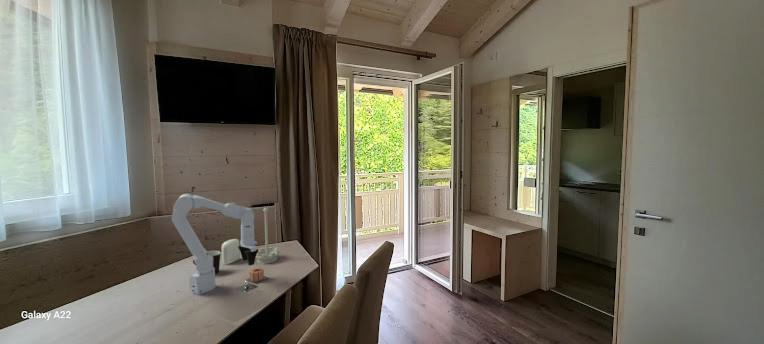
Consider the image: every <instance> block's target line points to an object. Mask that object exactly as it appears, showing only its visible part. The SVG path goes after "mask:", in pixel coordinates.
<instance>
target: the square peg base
mask: <svg viewBox="0 0 764 344" xmlns="http://www.w3.org/2000/svg"><path fill="white" fill-rule="evenodd" d="M268 279H269V277H268V276H265V275H264V279H262V280H260V281H251V280H250V277H249V278H247V279H246V280H248V281H249V283H250V284H253V285H257V284H260V283H262V282H265V281H266V280H268Z"/></svg>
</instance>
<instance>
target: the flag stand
mask: <svg viewBox="0 0 764 344" xmlns="http://www.w3.org/2000/svg"><path fill="white" fill-rule="evenodd" d="M269 210H270V209H269V208H268V207H264V208H263V209H262V211H263V212H264V239H265V240H264V241H265V242H264V243H265V248H264V247H261V248H258V250H259V251H258V253H257V255H256V258H255V259H256V262H257V263H258V264H262V263H264V264H270V263H271V262H272V263H275V262H276V261H277V260H278V259H279V257H278V256H279V255H280V249H279V247H274V248H273V246H269V225H268V224H269V223H268V221H269V219H268V213H269ZM274 261H275V262H274ZM272 263H271V264H272Z"/></svg>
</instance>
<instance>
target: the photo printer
mask: <svg viewBox="0 0 764 344" xmlns="http://www.w3.org/2000/svg"><path fill="white" fill-rule="evenodd" d="M238 246H241V244H240V240H239V239H237V238H232V239H228V240H226V241H224V242H223V243H222V244H221V248H220V249H221V263H222V265H225V266H227V265H230V264H233V263H235V262H236V261H238V260H240V259H241V252H240V250H239V248H238Z"/></svg>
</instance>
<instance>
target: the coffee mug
mask: <svg viewBox="0 0 764 344" xmlns="http://www.w3.org/2000/svg"><path fill="white" fill-rule="evenodd" d="M207 252H208V253H209V254H211V255H212V256H213V258H214V260H213V267H214V268H215V275H217V274H218V273H219V272H220V265H221V263H220V262H221V255H222V251H220V250H210V251H207ZM192 263H193V264H194V265H195V266H196V263H195V261H194V259H193V260H192Z"/></svg>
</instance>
